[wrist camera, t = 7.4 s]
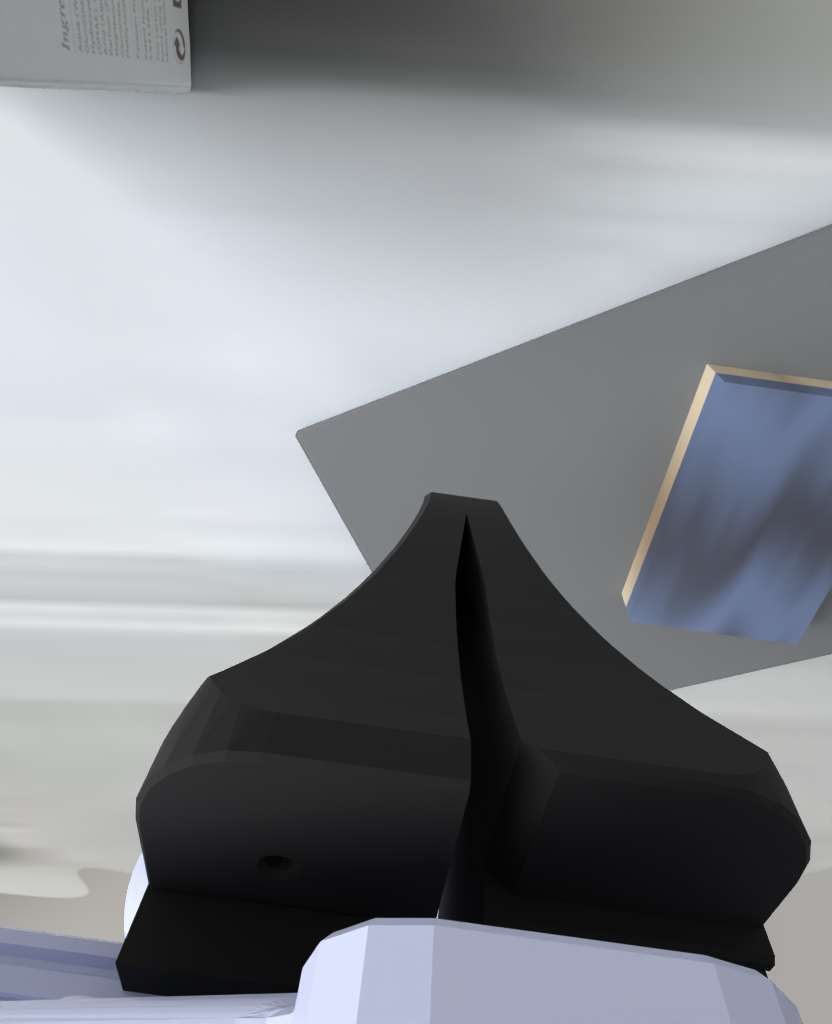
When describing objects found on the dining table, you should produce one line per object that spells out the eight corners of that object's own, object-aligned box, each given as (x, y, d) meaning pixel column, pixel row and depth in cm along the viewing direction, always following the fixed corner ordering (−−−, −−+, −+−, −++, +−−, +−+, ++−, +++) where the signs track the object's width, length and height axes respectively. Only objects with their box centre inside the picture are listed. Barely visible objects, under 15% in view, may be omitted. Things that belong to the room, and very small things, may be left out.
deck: (621, 593, 24) (778, 615, 24) (630, 621, 23) (797, 644, 23) (707, 363, 19) (902, 391, 19) (724, 382, 18) (935, 411, 18)
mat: (464, 728, 29) (464, 736, 29) (297, 430, 22) (295, 435, 22) (961, 616, 24) (968, 623, 24) (960, 174, 17) (971, 175, 16)
